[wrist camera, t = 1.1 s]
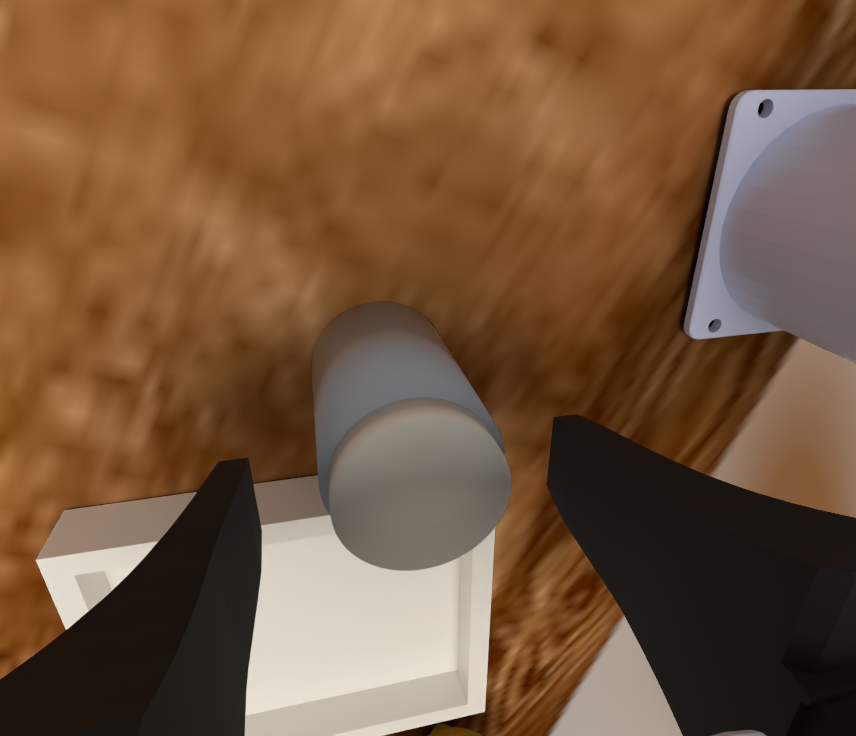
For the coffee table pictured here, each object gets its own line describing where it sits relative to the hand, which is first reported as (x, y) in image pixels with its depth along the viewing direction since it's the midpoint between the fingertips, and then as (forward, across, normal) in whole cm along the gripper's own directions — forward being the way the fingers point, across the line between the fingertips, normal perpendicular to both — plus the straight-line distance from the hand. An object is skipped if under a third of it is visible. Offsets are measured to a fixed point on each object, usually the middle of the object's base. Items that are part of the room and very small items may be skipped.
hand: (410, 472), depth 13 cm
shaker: (+6, 0, 0) cm, 6 cm away
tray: (+6, +3, +10) cm, 12 cm away
